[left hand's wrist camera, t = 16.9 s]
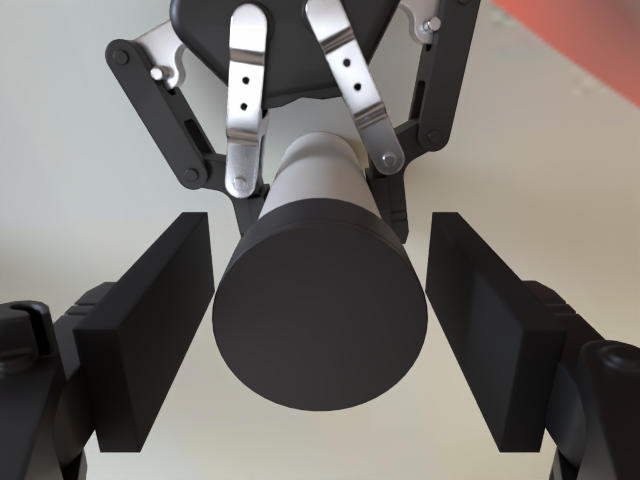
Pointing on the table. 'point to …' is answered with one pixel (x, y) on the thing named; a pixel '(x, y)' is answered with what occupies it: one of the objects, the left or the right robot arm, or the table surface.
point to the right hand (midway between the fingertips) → (330, 259)
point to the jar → (319, 173)
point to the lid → (319, 306)
